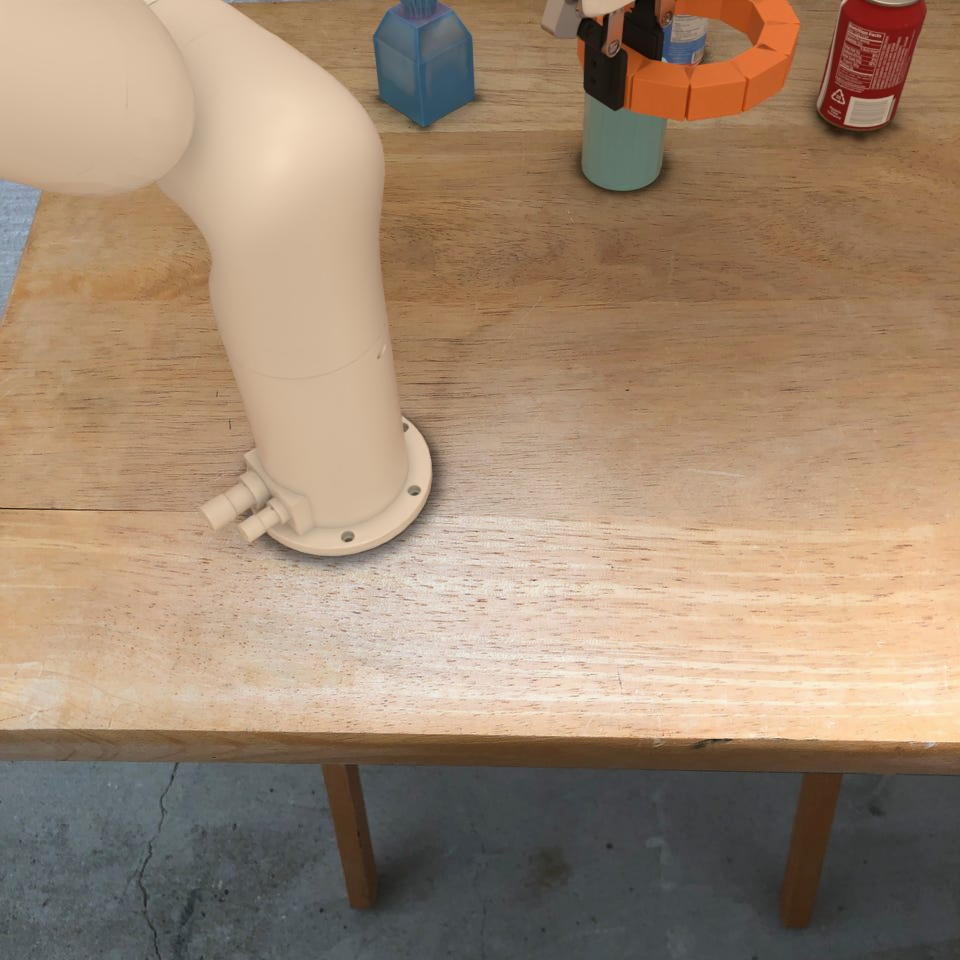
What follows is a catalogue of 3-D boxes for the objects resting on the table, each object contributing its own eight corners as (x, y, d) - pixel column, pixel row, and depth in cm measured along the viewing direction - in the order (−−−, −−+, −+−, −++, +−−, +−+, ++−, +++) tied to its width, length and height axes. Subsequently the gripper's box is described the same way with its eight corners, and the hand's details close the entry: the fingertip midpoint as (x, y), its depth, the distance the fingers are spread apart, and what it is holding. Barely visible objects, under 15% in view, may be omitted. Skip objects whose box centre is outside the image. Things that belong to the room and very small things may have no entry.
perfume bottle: (380, 98, 101) (364, -28, 92) (430, 70, 104) (421, -55, 94) (423, 127, 98) (412, 0, 89) (474, 98, 101) (469, -29, 91)
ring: (685, 148, 66) (690, 114, 64) (537, 53, 73) (537, 19, 71) (834, 58, 71) (843, 23, 69) (683, -25, 78) (686, -58, 76)
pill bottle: (638, 45, 105) (647, -56, 97) (692, 37, 105) (706, -64, 98) (653, 77, 102) (664, -24, 94) (710, 69, 102) (725, -32, 94)
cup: (621, 202, 91) (629, 108, 84) (564, 164, 95) (568, 70, 87) (677, 166, 94) (690, 72, 87) (620, 131, 97) (628, 37, 90)
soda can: (893, 141, 95) (935, 11, 85) (813, 134, 96) (845, 4, 86) (892, 95, 99) (931, -35, 89) (815, 88, 100) (846, -41, 90)
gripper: (700, -297, 60) (669, 17, 75) (470, -203, 54) (486, 116, 69) (807, -257, 56) (752, 65, 71) (572, -152, 51) (565, 173, 65)
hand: (621, 88), depth 70 cm, fingers closed on ring, 2 cm apart
